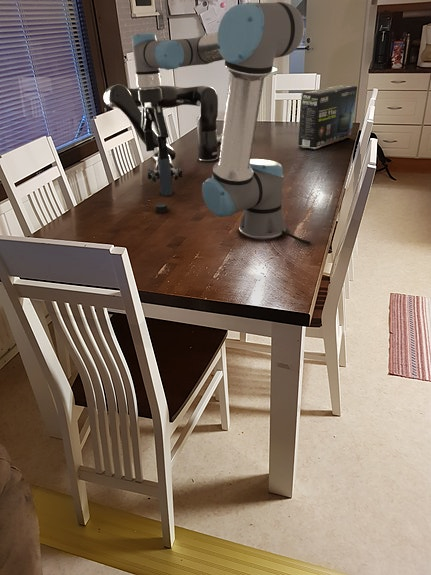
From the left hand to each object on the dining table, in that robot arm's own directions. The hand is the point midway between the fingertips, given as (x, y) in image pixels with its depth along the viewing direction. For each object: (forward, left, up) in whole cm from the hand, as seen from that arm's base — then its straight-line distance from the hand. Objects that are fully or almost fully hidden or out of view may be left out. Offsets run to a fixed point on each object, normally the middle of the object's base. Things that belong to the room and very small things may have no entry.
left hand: (165, 178), depth 180 cm
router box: (-94, +51, -7) cm, 107 cm away
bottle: (-2, -1, -7) cm, 7 cm away
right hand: (+16, +5, +14) cm, 22 cm away
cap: (+16, +5, -5) cm, 18 cm away
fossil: (-87, -1, -7) cm, 88 cm away
